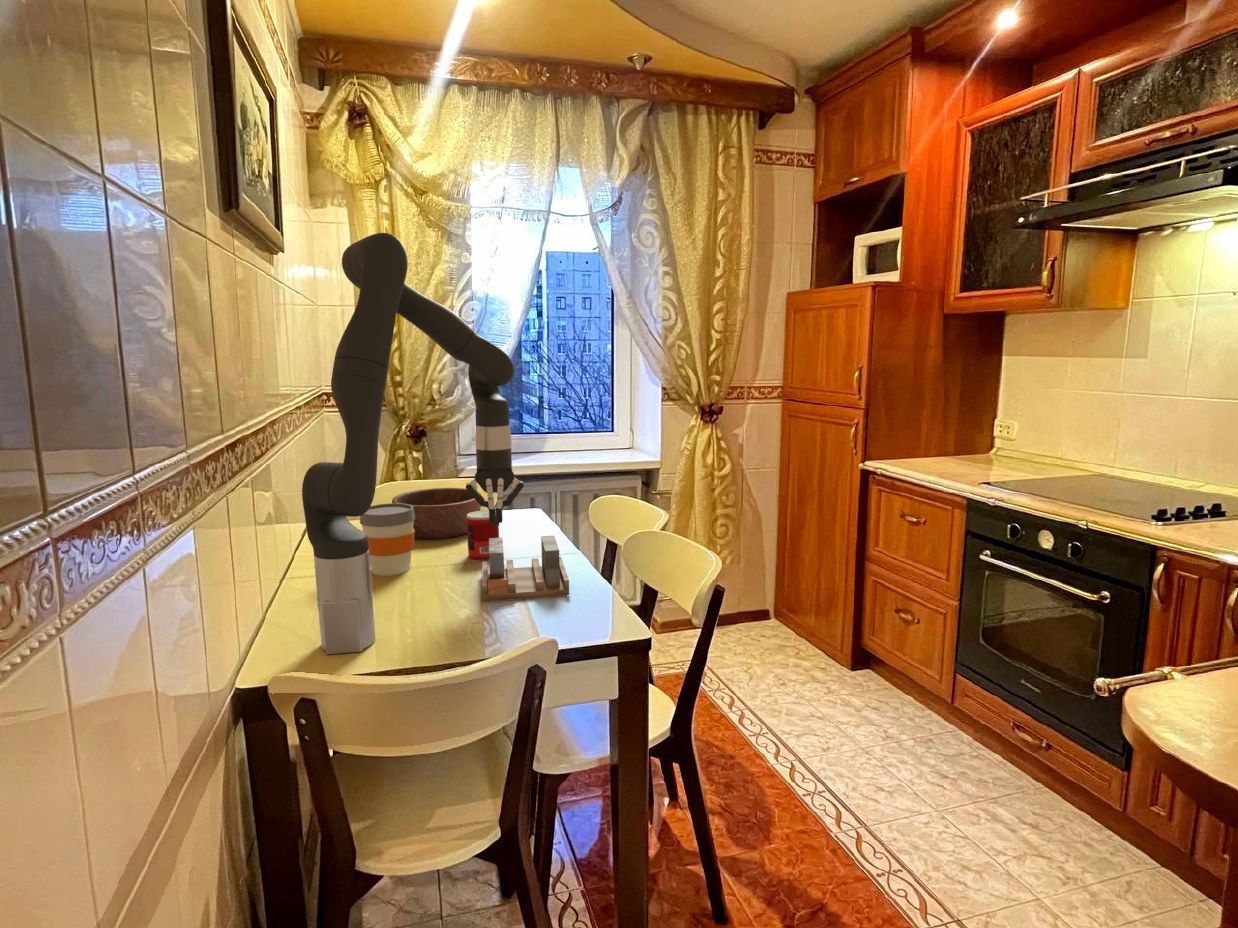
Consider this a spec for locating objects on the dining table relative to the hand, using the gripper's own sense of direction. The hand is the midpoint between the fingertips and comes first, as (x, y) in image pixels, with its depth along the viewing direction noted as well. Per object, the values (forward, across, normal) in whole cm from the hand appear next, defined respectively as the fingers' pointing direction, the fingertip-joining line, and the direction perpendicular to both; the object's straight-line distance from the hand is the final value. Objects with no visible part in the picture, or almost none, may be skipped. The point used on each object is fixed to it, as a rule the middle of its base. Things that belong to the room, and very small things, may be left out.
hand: (496, 524), depth 157 cm
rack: (+14, +6, +1) cm, 15 cm away
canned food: (+14, -3, +26) cm, 29 cm away
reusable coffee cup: (+14, -25, +18) cm, 34 cm away
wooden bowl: (+14, -17, +53) cm, 58 cm away
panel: (+13, 0, 0) cm, 13 cm away
